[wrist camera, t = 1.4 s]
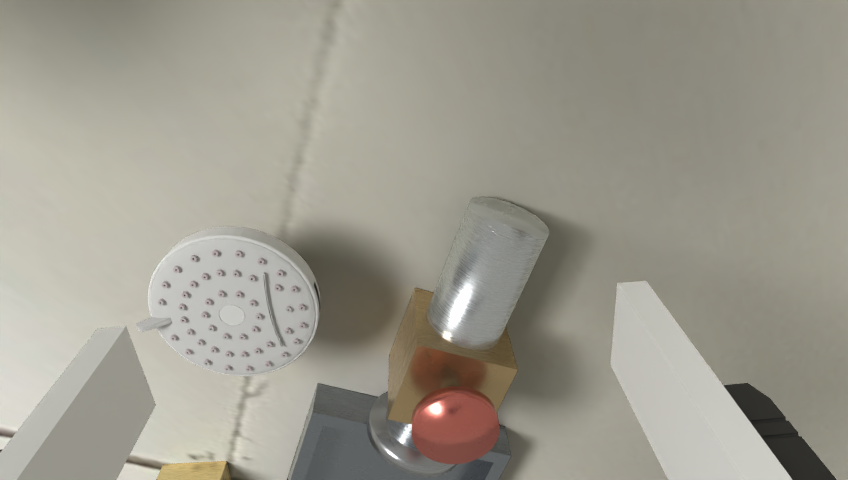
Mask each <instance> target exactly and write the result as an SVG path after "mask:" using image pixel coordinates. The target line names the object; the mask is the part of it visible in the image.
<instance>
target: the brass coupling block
mask: <svg viewBox="0 0 848 480" xmlns="http://www.w3.org/2000/svg"><path fill="white" fill-rule="evenodd" d="M156 480H231V476H230V472H229V468H228V464H227V461H217V462H197V463H177V464H163V466H162V468H161V470H160V473H159V475H158V477H157V479H156Z"/></svg>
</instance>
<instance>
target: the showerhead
mask: <svg viewBox="0 0 848 480" xmlns="http://www.w3.org/2000/svg"><path fill="white" fill-rule="evenodd" d="M320 304H321V298H320V291H319V287H318V284H317V281H316V278H315V276H314V274H313V272H312V271H311V269H310V267H309V266H308V264H307V263H306V262H305V261H304V259H303V258H302V257H301V256H300V255H299V254H298V253H297V252H296V251H295V250H293V249H292V248H291V247H290V246H288V245H287V244H286V243H284V242H282V241H281V240H279V239H277V238H275V237H273V236H271V235H269V234H266V233H264V232H261V231H258V230H254V229H250V228H245V227H236V226H223V227H214V228H209V229H205V230H202V231H199V232H196V233H194V234H192V235H189V236H188V237H186V238H184V239H183V240H181V241H180V242H179V243H177V244H176V245H175V246H174V247H173V248H172V249H171V250H170V251H169V252H168V254H167V255H166V256H165V257H164V258H163V259H162V261H161V262H160V263H159V264H158V266H157V267H156V269H155V271H154V273H153V275H152V277H151V280H150V284H149V289H148V306H149V311H150V314H151V318H149V319H146V320H144V321H141V322H139V323H136V327H137V329H138V330H139V331H140V332H145V331H148V330H152V329H155V328H156V329H157V330H158V332H159V334H160V335H161V337H162V338H163V339H164V340H165V341H166V343H167V344H168V345H169V346H170V347H171V348H172V349H173V350H175V351H176V352H177V353H178V354H179V355H180V356H182V357H183V358H185V359H186V360H188V361H190V362H191V363H193V364H195V365H197V366H199V367H202V368H204V369H207V370H209V371H212V372H216V373H220V374H225V375H231V376H254V375H261V374H266V373H270V372H273V371H276V370H278V369H281V368H283V367H285V366H287V365H289V364H290V363H292V362H293V361H295V360H296V359H297V358H298V357H300V356H301V355H302V354H303V353H304V351H305V350H306V349H307V348H308V346H309V345H310V343H311V342H312V340H313V338H314V336H315V333H316V330H317V326H318V321H319V315H320Z"/></svg>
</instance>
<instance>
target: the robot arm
mask: <svg viewBox="0 0 848 480" xmlns="http://www.w3.org/2000/svg"><path fill="white" fill-rule="evenodd" d="M610 365H611V367H612V369H613V371H614V373H615V375H616V377H617V379H618V381H619V383H620V385H621V387H622V389H623V391H624V393H625V395H626V397H627V399H628V401H629V403H630V405H631V407H632V409H633V411H634V413H635V415H636V417H637V419H638V421H639V423H640V425H641V427H642V429H643V431H644V433H645V435H646V437H647V439H648V441H649V443H650V445H651V447H652V449H653V451H654V453H655V455H656V457H657V459H658V461H659V463H660V465H661V467H662V469H663V471H664V473H665V474H666V476H667V478H668V480H836V478H835V477H834V476H833V475H832V474H831V472H830V471H829V470H828V469H827V467H826V466H825V465H824V464H823V463H822V461H821V460H820V459H819V458H818V456H817V455H816V454H815V453H814V452H813V450H812V449H811V448H810V447H809V445H808V444H807V443H806V442H805V441H804V439H803V438H802V437H799V436H798V432H797V431H796V430H795V428H794V427H793V426H792V425H791V423H790V422H789V421H786V419H785V416H784V415H783V414H782V412H781V411H780V410H779V409H778V408H777V406H776V405H775V404H774V403H773V401H772V400H771V399H770V398H769V397H767V396H766V395H764V394H763V393H761V392H760V391H758V390H757V389H755V388H754V387H752V386H751V385H750V384H748V383H744V384H732V385H722V383H721V382H720V381H719V379H718V378H717V376H716V375H715V374H714V372H713V371H712V370H711V368H710V367H709V366H708V364H707V363H706V361H705V360H704V359H703V357H702V356H701V355H700V353H699V352H698V351H697V349H696V348H695V347H694V345H693V344H692V342H691V341H690V340H689V338H688V337H687V336H686V334H685V333H684V332H683V330H682V329H681V327H680V326H679V325H678V323H677V322H676V321H675V319H674V318H673V317H672V315H671V314H670V313H669V311H668V310H667V308H666V307H665V306H664V304H663V303H662V302H661V300H660V299H659V298H658V296H657V295H656V294H655V292H654V291H653V289H652V288H651V287H650V285H649V284H648V283H647V281H637V282H626V283H617V294H616V305H615V317H614V329H613V341H612V353H611V364H610ZM155 405H156V404H155V401H154V399H153V396H152V393H151V391H150V388H149V385H148V383H147V380H146V377H145V375H144V372H143V369H142V367H141V364H140V362H139V359H138V356H137V354H136V351H135V348H134V346H133V343H132V340H131V338H130V335H129V332H128V330H127V327H126V326H122V327H111V328H100V329H97V330H96V331H95V333H94V334H93V335H92V336H91V338H90V339H89V340H88V341H87V343H86V344H85V345H84V347H83V348H82V349H81V350H80V352H79V353H78V354H77V355H76V357H75V358H74V359H73V361H72V362H71V363H70V364H69V366H68V367H67V368H66V370H65V371H64V372H63V373H62V375H61V376H60V377H59V378H58V380H57V381H56V382H55V384H54V385H53V386H52V387H51V389H50V390H49V391H48V392H47V394H46V395H45V396H44V398H43V399H42V400H41V401H40V403H39V404H38V405H37V407H36V408H35V409H34V410H33V412H32V413H31V414H30V415H29V417H28V418H27V419H26V421H25V422H24V423H23V424H22V426H21V427H20V428H19V429H18V431H17V432H16V433H15V435H14V436H13V437H12V438H11V440H10V441H9V442H8V444H7V445H6V446H5V447H4V449H3V450H0V480H116V479H117V478H118V476H119V474H120V472H121V470H122V468H123V466H124V464H125V462H126V460H127V459H128V457H129V455H130V453H131V451H132V449H133V447H134V445H135V443H136V442H137V440H138V438H139V436H140V434H141V432H142V430H143V428H144V426H145V424H146V423H147V421H148V419H149V417H150V415H151V413H152V411H153V409H154V407H155Z"/></svg>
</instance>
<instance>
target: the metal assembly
mask: <svg viewBox="0 0 848 480" xmlns="http://www.w3.org/2000/svg"><path fill="white" fill-rule="evenodd" d="M549 233H550V232H549V229H548V227H547V225H546V224H545V223H544V222H543V221H542V220H541V219H539V218H538V217H537V216H535V215H534V214H532V213H531V212H529V211H527V210H525V209H523V208H521V207H519V206H517V205H515V204H512V203H509V202H507V201H504V200H500V199H496V198H491V197H475V198H473V199H471V201H470V203H469V206H468V208H467V211H466V213H465V216H464V218H463V221H462V223H461V226H460V228H459V231H458V233H457V236H456V238H455V241H454V243H453V246H452V248H451V251H450V253H449V256H448V258H447V261H446V263H445V266H444V268H443V271H442V273H441V276H440V279H439V281H438V284H437V286H436V289H435V291H434V293H433V292H429V291H426V290H422V289H418V288H414V291H413V294H412V296H411V299H410V302H409V304H408V307H407V310H406V312H405V315H404V317H403V320H402V323H401V325H400V328H399V331H398V333H397V336H396V339H395V341H394V344H393V347H392V349H391V352H390V354H389V379H388V392H386V393H384V394H382V395H381V396H379V397H375V396H371V395H366V394H362V393H357V392H353V391H349V390H344V389H340V388H336V387H331V386H327V385H323V384H317V387H316V391H315V394H314V397H313V400H312V403H311V406H310V409H309V412H308V415H307V419H306V422H305V425H304V428H303V431H302V434H301V437H300V440H299V443H298V447H297V450H296V453H295V456H294V459H293V462H292V465H291V468H290V472H289V475H288V478H287V480H499V478H500V476H501V474H502V472H503V470H504V469H505V467H506V465H507V463H508V461H509V459H510V458H511V452H510V448H509V443H508V439H507V434H506V430H505V426H501V425H499V421H498V417H497V411H498V409H499V407H500V405H501V403H502V401H503V399H504V397H505V395H506V393H507V391H508V389H509V387H510V385H511V383H512V381H513V379H514V377H515V375H516V373H517V371H518V368H517V364H516V361H515V357H514V354H513V350H512V347H511V343H510V339H509V336H508V332H507V329H506V325H507V322H508V320H509V318H510V316H511V314H512V312H513V310H514V308H515V306H516V303H517V301H518V299H519V297H520V295H521V293H522V291H523V289H524V287H525V284H526V282H527V280H528V278H529V276H530V274H531V272H532V270H533V268H534V265H535V263H536V261H537V259H538V257H539V255H540V253H541V251H542V249H543V246H544V244H545V242H546V240H547V238H548V236H549Z"/></svg>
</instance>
